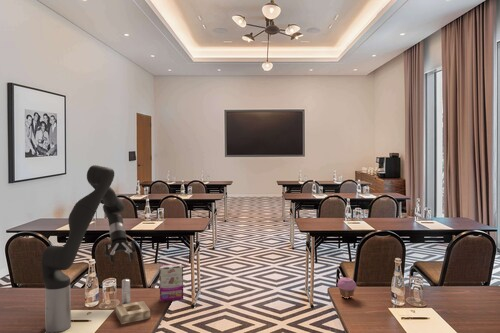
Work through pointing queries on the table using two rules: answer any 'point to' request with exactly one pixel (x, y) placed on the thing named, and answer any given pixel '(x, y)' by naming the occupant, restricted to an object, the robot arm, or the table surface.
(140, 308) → the socket block
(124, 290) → the pin
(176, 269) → the candy bar box
